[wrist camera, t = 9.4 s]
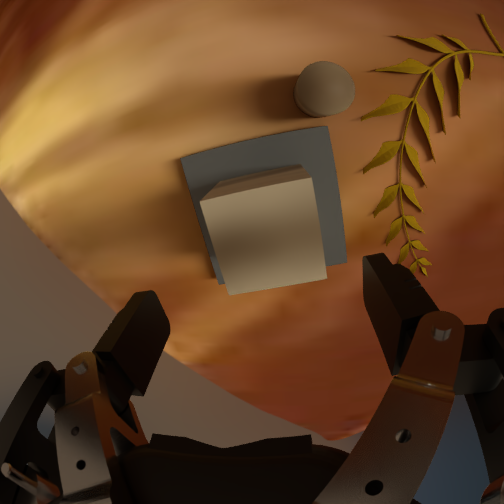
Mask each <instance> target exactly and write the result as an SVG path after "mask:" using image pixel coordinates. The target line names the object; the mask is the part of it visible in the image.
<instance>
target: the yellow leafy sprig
mask: <svg viewBox="0 0 504 504" xmlns="http://www.w3.org/2000/svg"><path fill="white" fill-rule="evenodd" d="M480 15H481V18H482V20H483V23H484V25H485V27H486V29H487V31H488V32H489V34H490V36H491V37H492V39H493V40H494V42H495V43H496V45H497V46H498V48H499V49H500V51H501V52H502V53H494V52H487V51H479V50H470V49H468V48H467V47H466V46H465V45H464V44H463V43H462V42H461V41H460V40H458V39H456V38H453V37H452V38H451V37H446V36H444V35H442V36H444V37H446V38H448V39H450V40H452V41H454V42H456V43H457V44H459V45H460V46H461V47H463V48H464V49H466V50H461V51H457V52H454V51H452V50H450V49H449V48H448V47H447V46H446V45H445V44H443V43H442V42H441V41H439V40H438V39H436V38H434V37H431V38H426V39H422V38H421V39H418V38H411V37H403V36H399V35H397V36H398V37H402V38H406V39H410V40H413V41H416V42H419V43H422V44H425V45H427V46H429V47H432V48H434V49H436V50H438V51H440V52H443V53H451V54H448V55H446V56H445V57H443V58H442V59H440V60H439V61H438V62H436V63H435V64H434V65H433V66H432V67H427V66H426V65H424V64H422V63H420V62H419V61H416V60H413V59H411V58H408V59H407V60H406V61H403V62H402V63H401V64H397V65H394V66H391V67H385V68H380V69H376V70H375V71H395V72H404V73H412V74H421V73H424V72H426V71H427V70H428V69H430V70H429V71H428V72H427V74H426V75H425V77H424V78H423V80H422V82H421V84H420V86H419V88H418V90H417V92H416V94H415V97H413V98H407V97H404V96H401V95H390V96H389V98H388V99H387V100H386V101H385V103H384V104H382V105H381V106H380V107H378V108H376V109H375V110H373V111H371V112H370V113H368V114H366V115H364V116H362V117H361V121H363V120H366V119H368V118H371V117H376V116H383V115H390V114H395V113H398V112H401V111H403V110H404V109H405V108H407V107H408V105H409V104H410V102H411V101H413V102H412V105H411V108H410V111H409V115H408V118H407V122H406V126H405V131H404V135H403V139H402V140H401V141H388V142H385V143H383V144H382V147H381V148H380V150H379V152H378V153H377V155H376V156H375V157H374V158H373V160H372V161H371V162H370V163H369V164H368V165H367V166H366V167H365V168H364V169H363V174H364V173H366V172H367V171H369V170H370V169H371V168H374V167H376V166H379V165H382V164H384V163H386V162H388V161H389V160H391V159H392V158H393V157H394V156H395V155H396V153H397V151H398V149H399V147H400V144H401V143H402V146H401V155H400V169H399V183H398V184H397V185H394V186H390V187H388V188H386V189H385V190H384V193H383V197H382V199H381V201H380V203H379V205H378V206H377V208H376V210H375V211H374V218H375V217H376V215H377V214H378V213H379V212H380V211H382V210H383V209H385V208H387V207H388V206H389V205H390V204H391V203H392V202H393V201H394V199H395V197H396V195H397V192H398V187H399V185H400V199H401V208H402V214H403V215H402V217H401V218H399V219H397V220H395V221H394V222H392V223H391V229H390V232H389V235H388V237H387V240H386V246H387V245H388V244H389V242H390V241H391V240H392V239H393V238H394V237H395V236H397V234H398V233H399V231H400V229H401V225H402V218H403V220H404V225H405V229H406V233H407V228H406V224H405V219H406V221H407V222H408V223H409V224H410V225H411V226H412V227H413V228H415V229H417V230H420V231H422V232H423V233H424V231H423V229H422V228H421V227H420V226H419V225H418V223H417V222H416V219H415V217H414V216H405V215H404V211H403V203H402V194H401V186H402V187H403V190H404V192H405V194H406V196H407V197H408V198H409V199H410V200H411V201H412V202H413V203H414V204H415V205H416V206H417V207H418V208H419V209H420V210H421V211H422V212H423V210H422V208H421V207H420V205H419V203H418V201H417V199H416V196H415V194H414V190H413V188H412V187H410V186H408V185H403V184H402V183H401V165H402V154H403V146H404V144H405V148H406V152H407V154H408V157H409V159H410V161H411V162H412V164H413V166H414V167H415V169H416V170H417V172H418V173H419V175H420V177H421V178H422V180H423V176H422V174H421V170H420V167H419V166H420V165H419V162H418V153H417V151H416V150H415V149H414V148H413V147H411V146H409V145H408V144H406V142H405V136H406V131H407V127H408V123H409V119H410V116H411V112H412V109H413V106H414V103H416V109H417V114H418V118H419V120H420V122H421V125H422V127H423V129H424V132H425V134H426V136H427V138H428V141H429V145H430V149H431V153H432V157H433V160H434V162H435V158H434V155H433V152H432V148H431V143H430V137H429V117H428V115H427V113H426V112H425V111H424V109H423V108H422V107H421V106H420V105H419V104H418V102H417V99H416V98H417V96H418V93H419V91H420V89H421V87H422V85H423V84H424V82H425V80H426V78H427V77H428V75H429V74H430V73H431V72H432V73H433V84H434V88H435V91H436V94H437V97H438V100H439V103H440V109H441V117H442V127H443V132H444V133H445V135H446V132H445V125H444V119H443V111H442V106H443V105H442V101H443V96H444V89H443V87H442V85H441V82H440V81H439V79H438V78H437V76H436V75H435V72H434V68H435V67H436V66H437V65H438V64H439V63H441V62H442V61H443V60H445V59H447V58H448V57H451V56H453V55H455V62H454V65H455V72H456V76H457V81H458V109H457V115H458V116H459V118H460V90H461V86H462V83H463V81H464V75H463V71H462V68H461V66H460V63H459V61H458V59H457V54H460V53H470V54H469V58H470V75H469V80H471V72H472V70H473V67H474V62H473V58H472V55H471V53H481V54H488V55H495V56H504V51H503V50H502V48H501V47H500V45H499V44H498V42H497V41H496V39H495V37H494V36H493V34H492V32H491V31H490V29H489V27H488V25H487V23H486V21H485V18H484V15H483V14H480ZM435 163H436V162H435ZM423 182H424V180H423ZM424 184H425V182H424ZM425 186H426V185H425ZM426 188H427V187H426ZM423 213H424V212H423ZM404 217H405V219H404ZM424 234H425V233H424ZM407 237H408V240H409V242H408V244H406V245H405V246H403V247H402V248H401V250H400V256H399V261H398V263H399V264H401V262H402V261H403V260H404V259H405V258H406V257H407V255H408V252H409V243H410V246H411V244H412V245H413V246H414V247H415V248H417V249H419V250H426V251H428V250H427V249H426V248H425V247H424V246H423V245H422V244H421V243H420V241H419V240H415V241H412V242H411V241H410V239H409V236H408V233H407ZM411 248H412V246H411ZM412 251H413V248H412ZM428 252H429V251H428ZM413 253H414V251H413ZM414 255H415V253H414ZM415 258H416V256H415ZM416 259H417V258H416ZM417 261H419V262H420V263H422V264H423V265H432V264H431V263H430V262H428V261H427V260H426V259H425V258H421V259H417V260H416V261H415V262H414V263H413V264H412V265H411V266H410V271H411V272H412V273H414V272H415V271H416V268H417ZM419 262H418V263H419ZM419 265H420V264H419ZM420 266H421V265H420ZM421 268H422V271H423V273H424V274H425V275H426V276H427V273H426V269H425V268H423V267H421ZM427 277H428V276H427Z"/></svg>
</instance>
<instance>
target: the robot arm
mask: <svg viewBox="0 0 504 504" xmlns="http://www.w3.org/2000/svg"><path fill="white" fill-rule="evenodd" d="M363 297H364V303H365V307H366V310H367V312H368V315H369V317H370V320H371V322H372V325H373V327H374V330H375V332H376V335H377V337H378V340H379V342H380V345H381V348H382V350H383V353H384V356H385V358H386V361H387V364H388V367H389V369H390V372H391V375H392V376H393V375H397V374H398V375H397V377H396V376H395V377H394V378H393V379H392V381H391V383H390V385H389V387H388V389H387V391H386V393H385V395H384V397H383V399H382V401H381V403H380V405H379V406H378V408H377V410H376V412H375V414H374V415H373V417H372V419H371V421H370V422H369V424H368V426H367V428H366V429H365V431H364V433H363V434H362V436H361V438H360V439H359V441H358V442H357V444H356V445H355V447H354V449H353V450H352V451H351V453H350V454H349V453H347V452H345V451H342V450H339V449H336V448H332V447H328V446H323V445H314V444H312V438H311V435H304V436H294V437H282V438H269V439H264V440H260V441H256V442H252V443H248V444H243V445H239V446H234V447H229V448H219V447H215V446H212V445H208V444H205V443H202V442H199V441H196V440H193V439H189V438H186V437H178V436H169V435H161V434H152V438H151V440H150V443H148V441H147V439H146V437H145V435H144V432H143V430H142V427H141V425H140V422H139V420H138V416H137V414H136V411H135V408H134V405H133V403H132V402H131V401H130V400H129V399H130V397H131V395H135V396H144V394H145V392H146V389H147V387H148V384H149V382H150V380H151V377H152V375H153V372H154V370H155V368H156V365H157V363H158V360H159V358H160V356H161V353H162V351H163V349H164V347H165V344H166V342H167V340H168V337H169V335H170V323H169V320H168V318H167V316H166V314H165V312H164V310H163V307H162V305H161V303H160V301H159V299H158V297H157V295H156V293H155V292H154V291H152V290H149V291H142V292H136V293H134V294H133V296H132V297H131V299H130V300H129V301H128V303H127V304H126V306H125V307H124V308H123V309H122V310H121V311H120V312H119V313H118V314H117V315H116V316H115V318H114V320H113V321H112V323H111V324H110V325H109V327H108V330H106V331H105V333H104V334H103V336H102V337H101V339H100V340H99V342H98V343H97V345H96V346H95V348H94V349H93V351H92V352H83V353H80V354H78V355H76V356H75V357H74V358H72V359H71V360H70V362H69V363H68V364H67V366H66V369H63V370H58V371H57V370H56V369H55V368H54V366H53V365H52V364H51V362H49V361H43V362H40V363H39V364H37V365H36V366H35V367H34V368H33V369H32V370H31V371H30V373H29V374H28V376H27V378H26V379H25V381H24V382H23V384H22V386H21V387H20V389H19V391H18V392H17V394H16V395H15V397H14V399H13V401H12V402H11V404H10V406H9V407H8V409H7V411H6V413H5V415H4V417H3V418H2V420H1V422H0V504H421V503H419V502H418V501H416V500H415V499H413V497H414V495H415V494H416V492H417V490H418V488H419V486H420V484H421V482H422V480H423V478H424V476H425V474H426V472H427V470H428V468H429V466H430V464H431V461H432V459H433V457H434V454H435V452H436V450H437V447H438V445H439V442H440V439H441V437H442V434H443V432H444V429H445V426H446V423H447V420H448V417H449V414H450V411H451V408H452V404H453V401H454V396H455V395H463V394H464V395H465V398H466V401H467V404H468V406H469V409H470V412H471V415H472V418H473V421H474V424H475V427H476V430H477V433H478V437H479V440H480V444H481V447H482V450H483V455H484V459H485V463H486V467H487V471H488V476H489V480H490V484H489V485H488V487H487V488H486V489H485V491H484V493H483V495H482V497H481V500H480V504H504V380H503V377H504V308H499V309H496V310H494V311H493V312H492V313H491V314H490V316H489V318H488V321H487V324H477V325H464V324H463V322H462V321H461V320H460V319H459V318H458V317H457V316H456V315H454V314H452V313H450V312H446V311H440V310H439V309H438V307H437V306H436V305H435V303H434V302H433V300H432V299H431V298H430V296H429V295H428V293H427V292H426V291H425V289H424V288H423V287H421V284H420V283H419V281H418V280H416V277H415V276H414V275H413V273H412V272H411V271H410V270H409V269H408V268H406V267H404V266H402V265H401V264H399V263H398V264H393V265H392V263H391V262H390V261H389V259H388V258H387V257H386V255H385V254H384V253H378V254H373V255H368V256H364V257H363ZM46 404H48V405H49V406H50V407H51V408H52V409H53V410H54V411H55V414H54V415H55V424H54V426H53V428H52V431H51V433H50V435H49V437H48V439H46V438H45V437H44V436H43V435H42V434H41V433H40V432H39V431H38V428H37V421H38V419H39V417H40V415H41V413H42V411H43V409H44V407H45V405H46ZM27 463H28V465H26V464H27Z"/></svg>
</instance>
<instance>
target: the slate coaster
mask: <svg viewBox="0 0 504 504" xmlns="http://www.w3.org/2000/svg"><path fill="white" fill-rule="evenodd" d="M180 159H181V163H182V166H183V170H184V173H185V177H186V180H187V184H188V187H189V191H190V194H191V197H192V201H193V204H194V208H195V211H196V214H197V217H198V221H199V224H200V227H201V231H202V234H203V237H204V240H205V243H206V246H207V250H208V253H209V256H210V259H211V262H212V265H213V268H214V271H215V274H216V277H217V280H218V283H219V285H220V284H225V282H224V278H223V275H222V272H221V269H220V266H219V263H218V260H217V257H216V254H215V250H214V247H213V244H212V241H211V238H210V234H209V231H208V228H207V225H206V221H205V218H204V215H203V212H202V208H201V205H200V201H201V200H202V198H203V197H204V196H205V195H206V194H207V193H208V192H209V191H211V190H212V189H213V188H214V187H215V186H216V185H217V184H218V183H219V182H220V181H223V180H227V179H231V178H235V177H240V176H244V175H249V174H253V173H258V172H262V171H267V170H272V169H277V168H282V167H287V166H292V165H297V164H301V165H302V167H303V168H304V169H305V170H306V171H307V173H308V174H309V175H310V176H311V177H312V182H313V188H314V193H315V199H316V205H317V211H318V217H319V223H320V230H321V236H322V243H323V250H324V258H325V266H331V265H336V264H341V263H347V255H346V244H345V235H344V225H343V217H342V209H341V201H340V194H339V187H338V181H337V174H336V168H335V163H334V157H333V151H332V146H331V141H330V136H329V131H328V126H321V127H315V128H308V129H302V130H296V131H291V132H285V133H280V134H275V135H270V136H265V137H260V138H255V139H251V140H247V141H242V142H238V143H234V144H230V145H226V146H222V147H218V148H214V149H211V150H207V151H203V152H200V153H196V154H193V155H189V156H186V157H183V158H180Z"/></svg>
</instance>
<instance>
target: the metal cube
mask: <svg viewBox="0 0 504 504" xmlns="http://www.w3.org/2000/svg"><path fill="white" fill-rule="evenodd" d="M200 205H201V208H202V212H203V215H204V218H205V221H206V225H207V228H208V231H209V234H210V238H211V241H212V244H213V247H214V250H215V254H216V257H217V260H218V263H219V266H220V269H221V272H222V275H223V278H224V282H225V285H226V288H227V291H228V294H229V295H233V294H240V293H246V292H253V291H259V290H265V289H271V288H277V287H283V286H288V285H294V284H300V283H305V282H311V281H316V280H322V279H327V274H326V266H325V258H324V250H323V243H322V236H321V230H320V223H319V217H318V211H317V205H316V199H315V193H314V188H313V182H312V177H311V176H310V175H309V174H308V173H307V171H306V170H305V169H304V168H303V167H302V165H301V164H297V165H292V166H287V167H282V168H277V169H272V170H267V171H262V172H258V173H253V174H249V175H244V176H240V177H235V178H231V179H227V180H223V181H220V182H219V183H218V184H217V185H216V186H215V187H214V188H213V189H212V190H211V191H209V192H208V193H207V194H206V195H205V196H204V197H203V198H202V200H201V201H200Z"/></svg>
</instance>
